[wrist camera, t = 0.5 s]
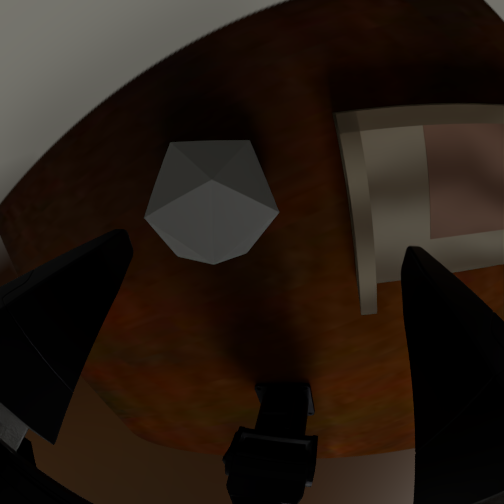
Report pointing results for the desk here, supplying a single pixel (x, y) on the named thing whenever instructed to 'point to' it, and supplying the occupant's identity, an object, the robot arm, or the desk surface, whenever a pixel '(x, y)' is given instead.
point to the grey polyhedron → (211, 200)
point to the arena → (423, 187)
